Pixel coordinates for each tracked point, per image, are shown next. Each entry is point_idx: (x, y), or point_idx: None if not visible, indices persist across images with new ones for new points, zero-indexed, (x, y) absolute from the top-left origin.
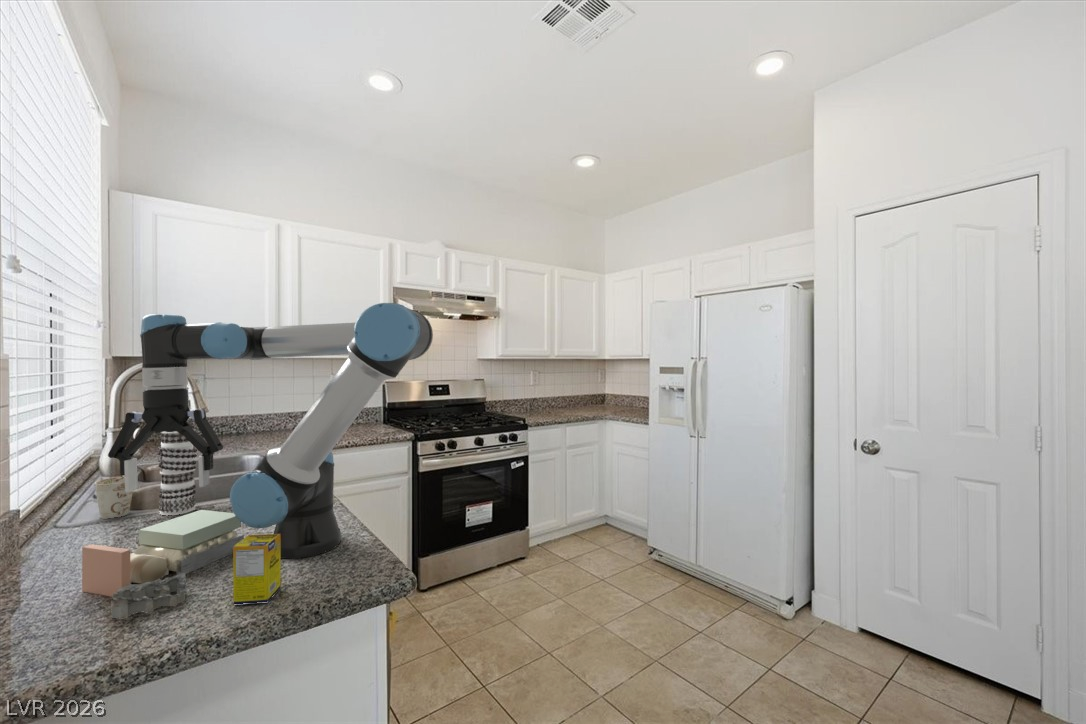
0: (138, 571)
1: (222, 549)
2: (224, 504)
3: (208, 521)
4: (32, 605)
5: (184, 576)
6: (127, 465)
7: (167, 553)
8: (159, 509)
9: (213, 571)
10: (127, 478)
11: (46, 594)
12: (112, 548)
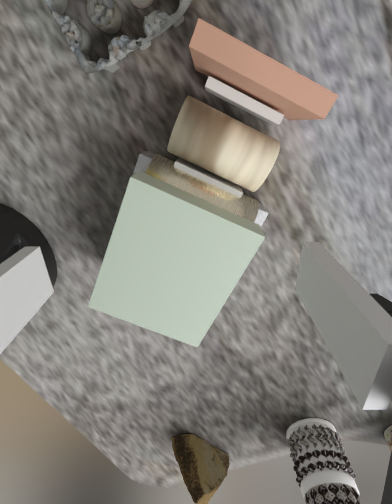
0: (196, 101)
1: None
2: (249, 446)
3: (131, 269)
4: (364, 46)
5: (78, 58)
6: (373, 317)
7: (175, 174)
8: (336, 433)
9: (98, 164)
10: (334, 271)
11: (362, 101)
12: (247, 67)
